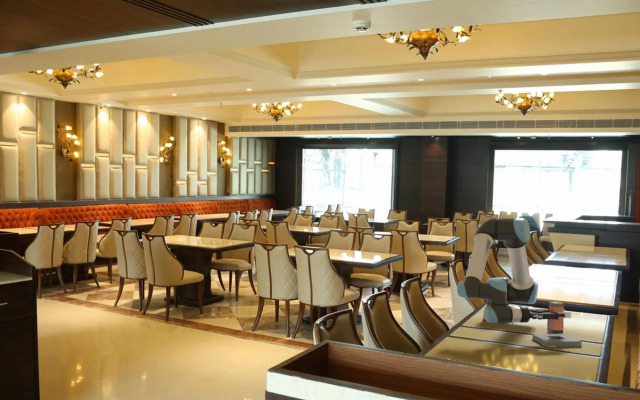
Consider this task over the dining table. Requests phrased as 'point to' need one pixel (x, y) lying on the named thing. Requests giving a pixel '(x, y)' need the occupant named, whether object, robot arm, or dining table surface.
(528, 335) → the dining table surface
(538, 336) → the socket plate
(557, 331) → the flask
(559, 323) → the plug
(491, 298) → the robot arm
